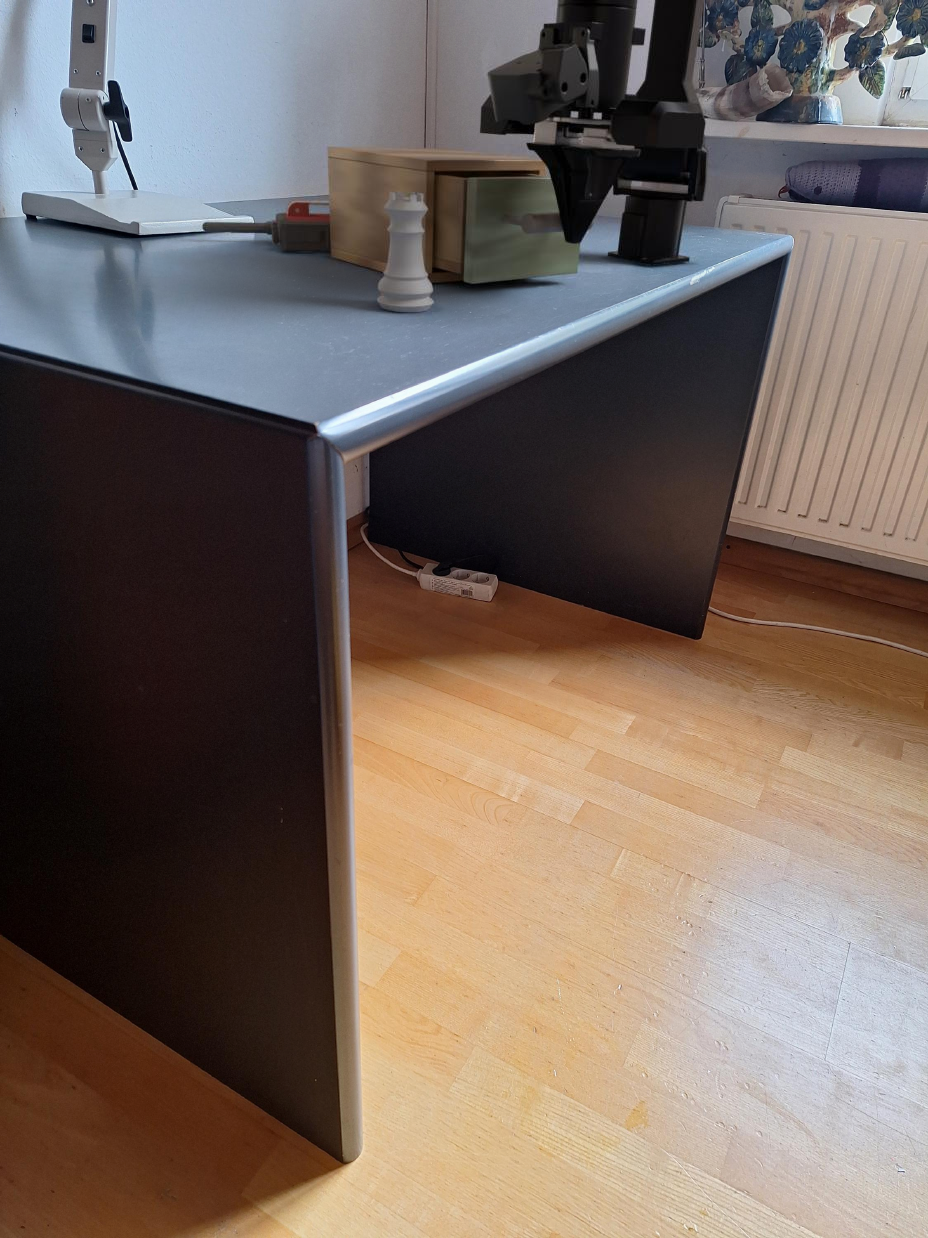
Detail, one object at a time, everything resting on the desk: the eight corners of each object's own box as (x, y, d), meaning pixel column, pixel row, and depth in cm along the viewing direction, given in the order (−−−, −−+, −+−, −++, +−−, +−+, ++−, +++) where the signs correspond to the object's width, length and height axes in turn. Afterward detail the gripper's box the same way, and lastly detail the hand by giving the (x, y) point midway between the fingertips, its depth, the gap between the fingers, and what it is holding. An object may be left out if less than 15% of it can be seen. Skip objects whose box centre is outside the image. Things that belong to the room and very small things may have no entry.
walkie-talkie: (387, 240, 97) (203, 239, 92) (387, 197, 95) (198, 193, 90) (403, 253, 90) (204, 252, 85) (403, 206, 88) (199, 202, 83)
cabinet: (537, 272, 83) (547, 159, 78) (424, 284, 76) (426, 159, 71) (439, 249, 94) (442, 147, 89) (330, 257, 86) (327, 146, 81)
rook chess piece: (365, 307, 66) (363, 192, 62) (396, 298, 70) (396, 188, 66) (415, 315, 65) (417, 197, 60) (444, 306, 68) (447, 193, 64)
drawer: (609, 280, 76) (621, 181, 72) (503, 292, 69) (510, 183, 65) (476, 249, 88) (480, 163, 84) (374, 257, 81) (373, 163, 77)
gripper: (429, 3, 64) (425, 232, 72) (617, -11, 52) (586, 267, 60) (538, 17, 70) (523, 226, 78) (729, 8, 58) (688, 257, 66)
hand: (573, 242), depth 70 cm, fingers closed
